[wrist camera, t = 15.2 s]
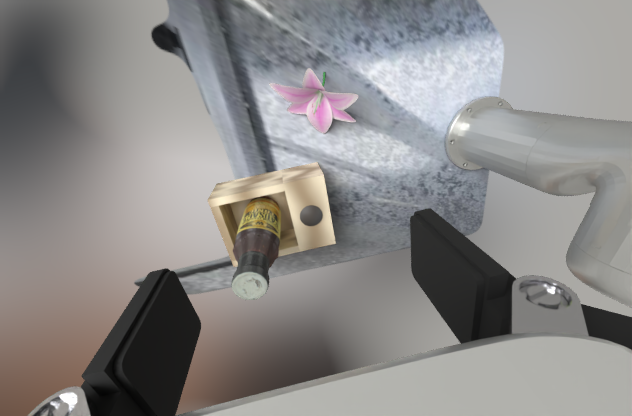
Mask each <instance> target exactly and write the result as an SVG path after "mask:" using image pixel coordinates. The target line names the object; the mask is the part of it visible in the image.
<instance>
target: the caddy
mask: <svg viewBox="0 0 632 416" xmlns="http://www.w3.org/2000/svg"><path fill="white" fill-rule="evenodd" d="M260 196H266V197H270V198H272V199H273V200H275V201H276V202H277V203H278V205H279V207H280V211H281V228H280V245H279V255H278V257H279V256H283V255H288V254H292V253H296V252H301V251H305V250H310V249H314V248H318V247H323V246H327V245H331V244H336V242H335V236H334V231H333V225H332V219H331V213H330V207H329V202H328V196H327V190H326V184H325V179H324V174H323V172H322V170H321V169H320V167H319V165H318V163H317V162H316V163H311V164H307V165H302V166H297V167H293V168H288V169H283V170H279V171H274V172H270V173H265V174H260V175H256V176H251V177H246V178H242V179H237V180H233V181H228V182H223V183H218V184H216V186H215V188H214V190H213V192H212V193H211V195H210V197H209V199H208V202H209V205H210V207H211V209H212V213H213V215H214V218H215V220H216V223H217V225H218V228H219V230H220V233H221V235H222V238H223V241H224V243H225V246H226V248H227V251H228V253H229V256H230V258H231V261H232V263H233V266H234V267H236V266H238V262H237V261H236V259H235V256H234V254H233V248H234V244H235V240H236V235H237V232H238V229H239V225H240V222H241V220H242V217H243V214H244V211H245V208H246V206H247V205H248V203H249V202H250V201H251V200H252V199H254V198H256V197H260Z"/></svg>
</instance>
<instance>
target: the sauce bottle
mask: <svg viewBox="0 0 632 416" xmlns="http://www.w3.org/2000/svg"><path fill="white" fill-rule="evenodd" d="M280 228H281V211H280V207H279V205H278V203H277V202H276V201H275V200H273V199H272V198H270V197H266V196H260V197H256V198H254V199H252V200H251V201H250V202H249V203H248V205H247V206H246V208H245V211H244V214H243V217H242V220H241V222H240V225H239V229H238V232H237V235H236V240H235V244H234V248H233V254H234V256H235V259H236V261H237V262H238V267H237V271H236V272H235V274H234V276H233V280H232V290H233V291H234V293H235V294H236V295H237V296H238V297H240V298H242V299H246V300H255V299H258V298H260V297H262V296H263V295H264V294H265V293H266V292H267V290H268V285H269V275H268V269H269V268H270V267H271V266H272V264H273V262H274V260H275V259H276V258H278V255H279V245H280Z"/></svg>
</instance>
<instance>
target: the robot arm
mask: <svg viewBox="0 0 632 416" xmlns="http://www.w3.org/2000/svg"><path fill="white" fill-rule="evenodd" d="M445 147H446V152H447V155H448V157H449V159H450V160H451V161H452V162H453V163H454V164H455V165H457V166H458V167H460V168H463V169H466V170H477V169H482V168H486V169H489V170H491V171H494V172H496V173H499V174H501V175H503V176H506V177H509V178H511V179H513V180H516V181H518V182H520V183H523V184H525V185H528V186H530V187H533V188H535V189H538V190H540V191H543V192H545V193H548V194H552V195H557V196H574V195H581V194H586V193H591V192H595V191H596V193H595V195H594V197H593V199H592V201H591V203H590V207H589V209H588V211H587V213H586V215H585V217H584V219H583V221H582V223H581V224H580V226H579V228H578V230H577V232H576V234H575V236H574V238H573V240H572V242H571V244H570V246H569V248H568V251H567V255H566V262H567V266H568V268H569V269H570V271H571V272H572V273H573V274H574V276H575V277H577V278H578V279H579V280H581V281H582V282H583V283H585V284H586V285H588V286H589V287H591V288H593V289H594V290H596V291H598V292H600V293H602V294H604V295H606V296H608V297H610V298H612V299H614V300H616V301H618V302H620V303H622V304H625V305H627V306H629V307H631V308H632V122H628V121H615V120H602V119H593V118H584V117H574V116H566V115H557V114H548V113H539V112H532V111H523V110H514V109H513V108H512V107H511V105H510V104H509V103H508V102H506V101H505V100H503V99H501V98H498V97H481V98H478V99H475V100H473V101H471V102H469V103H468V104H466V105H465V106H464V107H463V108H462V109H460V110H459V112H458V113H457V114H456V115H455V116H454V118H453V120H452V121H451V123H450V125H449V127H448V130H447V134H446V139H445ZM410 226H411V262H412V263H411V267H412V273H413V276H414V278H415V280H416V281H417V282H418V284H419V285H420V287H421V288H422V290H423V291H424V292H425V294H426V295H427V297H428V298H429V299H430V301H431V302H432V303H433V305H434V306H435V308H436V309H437V311H438V312H439V313H440V315H441V316H442V318H443V319H444V320H445V322H446V323H447V325H448V326H449V327H450V329H451V330H452V332H453V333H454V334H455V336H456V337H457V338H458V340H459V341H460V343H461V344H458V345H453V346H449V347H444V348H440V349H436V350H431V351H427V352H424V353H419V354H415V355H412V356H407V357H403V358H399V359H395V360H391V361H387V362H383V363H379V364H375V365H371V366H367V367H363V368H359V369H355V370H351V371H347V372H343V373H340V374H335V375H331V376H327V377H323V378H320V379H316V380H312V381H307V382H304V383H300V384H296V385H292V386H288V387H284V388H280V389H276V390H272V391H269V392H264V393H261V394H257V395H253V396H249V397H245V398H241V399H237V400H233V401H230V402H226V403H222V404H218V405H214V406H210V407H207V408H203V409H199V410H195V411H191V412H188V413H184V414H180V415H176V416H632V317H628V316H624V315H621V314H617V313H613V312H609V311H606V310H602V309H598V308H594V307H590V306H586V305H583V304H581V303H580V300H579V298H578V296H577V294H575V293H574V292H573V291H572V290H571V289H570V288H569V287H567V286H566V285H564V284H562V283H560V282H558V281H556V280H553V279H550V278H546V277H543V276H534V275H531V276H523V277H520V278H517V279H516V278H515V277H514V276H512V275H511V274H510V273H509V272H508V271H507V270H506V269H504V268H503V267H502V266H501V265H500V264H498V263H497V262H496V261H495V260H493V259H492V258H491V257H490V256H488V255H487V254H486V253H485V252H483V251H482V250H481V249H480V248H479V247H477V246H476V245H475V244H474V243H472V242H471V241H470V240H469V239H468V238H466V237H465V236H464V235H463V234H461V233H460V232H459V231H458V230H456V229H455V228H454V227H453V226H452V225H450V224H449V223H448V222H447V221H445V220H444V219H443V218H442V217H441V216H439V215H438V214H437V213H436V212H434V211H433V210H432V209H425V210H421V211H416V212H415V213H414V216H411V218H410ZM200 330H201V322H200V320H199V317H198V315H197V313H196V312H195V310H194V308H193V306H192V304H191V302H190V300H189V298H188V296H187V294H186V292H185V290H184V289H183V287H182V285H181V283H180V281H179V279H178V277H177V275H176V273H175V272H174V271H170V270H169V269H162V270H157V271H153V272H150V273H149V274H148V275H147V277H146V278H145V280H144V281H143V283H142V284H141V286H140V288H139V289H138V291H137V292H136V294H135V295H134V297H133V298H132V300H131V301H130V303H129V304H128V306H127V307H126V309H125V310H124V312H123V313H122V315H121V317H120V318H119V320H118V321H117V323H116V324H115V326H114V327H113V329H112V330H111V332H110V333H109V335H108V336H107V338H106V339H105V341H104V343H103V344H102V345H101V347H100V349H99V350H98V352H97V353H96V355H95V356H94V358H93V359H92V361H91V363H90V364H89V365H88V367H87V369H86V370H85V372H84V373H83V374H82V377H83V379H84V380H85V381H84V383H83V384H82V386H81V388H80V387H69V388H66V389H63V390H61V391H59V392H57V393H55V394H54V395H52V396H50V397H49V398H47V399H46V400H45V401H43V402H42V403H41V404H40V405H38V406H37V407H36V408H35V409H34V410H33V411H32V412H31V413H30V414H29V415H28V416H175V414H176V411H177V408H178V404H179V401H180V397H181V394H182V390H183V387H184V384H185V380H186V377H187V374H188V371H189V367H190V364H191V360H192V357H193V354H194V350H195V347H196V344H197V340H198V337H199V334H200Z"/></svg>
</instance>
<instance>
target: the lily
mask: <svg viewBox="0 0 632 416" xmlns="http://www.w3.org/2000/svg"><path fill="white" fill-rule="evenodd" d="M269 84H270V86H271V87H272V89H273V90H274V91H276V92H277V93H278V94H279V95H280V96H281V97H283V98H284V99H286V100H287V101H289V102H291V103H292V104H291V105H290V106H289V107H288V109H287V111H288V112H290V113H295V114H307V117H308V120H309V121H310V123H311V124H312V125H313V126H314V127H315V128H316V129H317V130H318V131H319V132H321V133H326V132H327V131H328V129H329V127H330V125H331V123H332V118H334V119H337V120H341V121H346V122H356V120H354V119H353V118H352V117H351V116H350V115H349V114H348V113H346V112H345V111H344V110H345V109H346V108H348V107H349V106H351V105H352V104H353V103H354V102H355V101H356V100H357V99H358V95H356V94H350V93H332V92H326V90H325V89H324V84H325V72H323V84H321V83H320V81H319V79H318V78H317V77H316V75H315V74H314V72H313V71H312V70H311V69H310V68H308V69H307V71H306V73H305V76H304V79H303V85H302V86H303V88H295V87H288V86H283V85H279V84H275V83H269Z"/></svg>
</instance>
